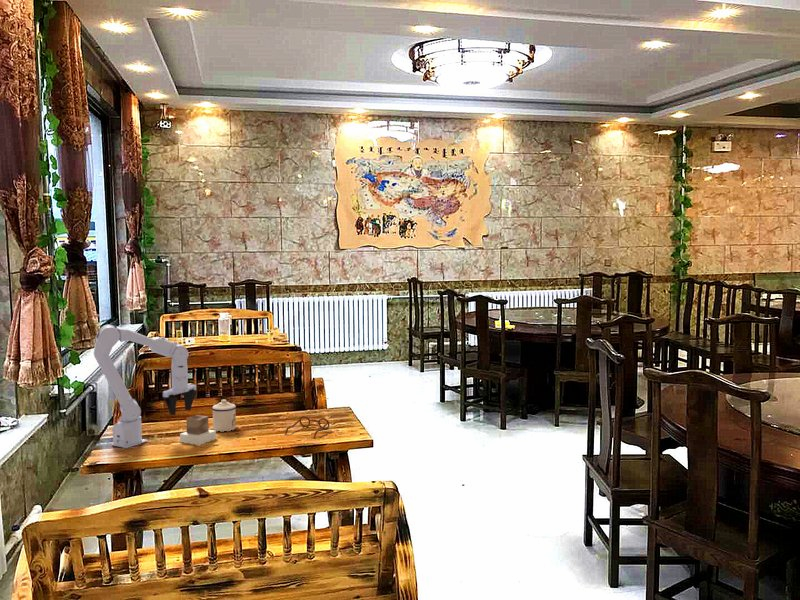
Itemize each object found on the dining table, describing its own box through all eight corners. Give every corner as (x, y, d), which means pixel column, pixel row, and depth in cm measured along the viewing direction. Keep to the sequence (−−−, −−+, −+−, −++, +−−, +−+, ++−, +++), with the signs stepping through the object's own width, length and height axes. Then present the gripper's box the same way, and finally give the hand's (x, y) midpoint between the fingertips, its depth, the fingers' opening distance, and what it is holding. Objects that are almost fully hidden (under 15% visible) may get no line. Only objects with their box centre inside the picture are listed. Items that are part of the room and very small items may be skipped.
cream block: (199, 446, 238) (198, 437, 238) (180, 443, 242) (179, 433, 242) (216, 439, 247) (215, 430, 246) (197, 436, 250) (197, 427, 250)
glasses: (330, 430, 259) (329, 418, 259) (314, 440, 247) (313, 427, 246) (300, 427, 264) (300, 415, 263) (283, 436, 252) (283, 423, 251)
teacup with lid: (237, 431, 257) (237, 401, 256) (213, 433, 254) (212, 403, 253) (234, 423, 268) (233, 394, 267) (211, 425, 265) (210, 396, 264)
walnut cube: (198, 434, 241) (197, 420, 240) (186, 433, 243) (186, 418, 243) (208, 431, 246) (208, 416, 245) (197, 429, 248) (197, 414, 248)
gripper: (172, 381, 239) (172, 418, 240) (201, 374, 252) (202, 409, 253) (158, 379, 242) (159, 415, 243) (188, 372, 255) (189, 407, 256)
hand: (180, 412), depth 248 cm, fingers open, 7 cm apart
